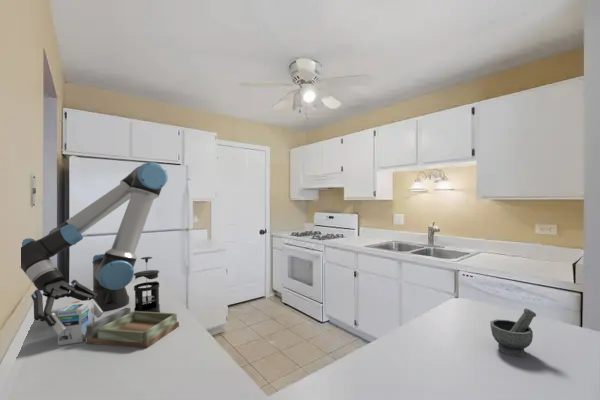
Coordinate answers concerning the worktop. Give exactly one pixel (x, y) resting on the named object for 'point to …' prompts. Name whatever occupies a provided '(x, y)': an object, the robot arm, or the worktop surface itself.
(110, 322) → the wooden drawer tray
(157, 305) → the french press
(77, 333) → the light bulb box
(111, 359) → the worktop surface
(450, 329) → the worktop surface
